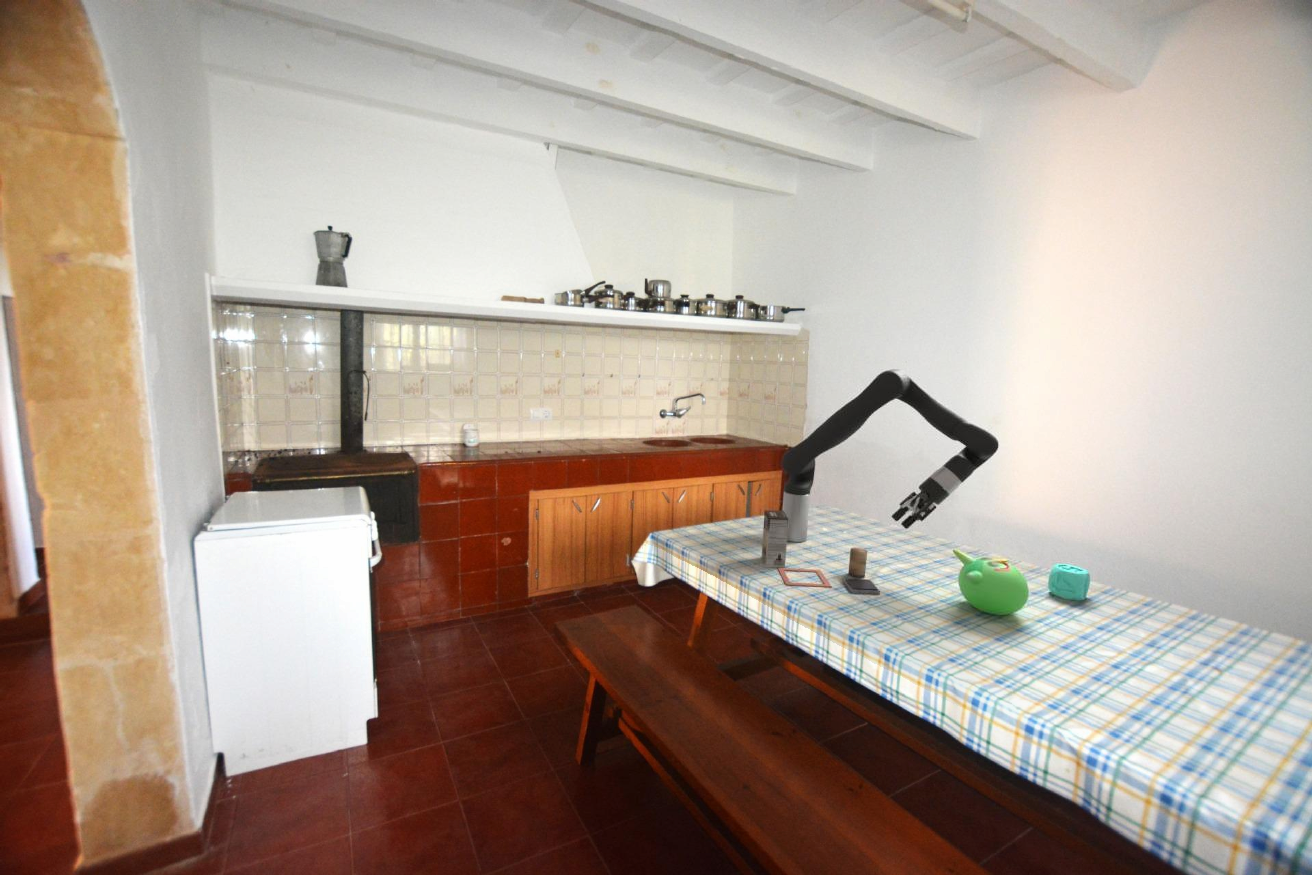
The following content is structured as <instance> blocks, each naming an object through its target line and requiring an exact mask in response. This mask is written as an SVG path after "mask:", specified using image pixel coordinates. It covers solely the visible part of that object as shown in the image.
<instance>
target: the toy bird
mask: <svg viewBox="0 0 1312 875" xmlns="http://www.w3.org/2000/svg"><path fill="white" fill-rule="evenodd" d="M952 552H953V554H954V555H955V557H956V558H957V559H958V560H959V561H960V562H961V564H963V565H962V567H961V568H960V570H959V574H958V578H957V580H958V587H959V590H960V593H961V594H962V596H963V597H964V599H965V600H966V601H967V603H969V604H970V605H971V606H972V607H974V608H976V609H977V610H979V611H981V612H984V613H988V614H990V615H999V616H1002V615H1004V616H1006V615H1010V614H1011V615H1012V614H1014V613H1017V612H1019V611H1020V610H1021V609H1023V607H1025V605H1026V604H1027V602H1028V601H1029V600H1028V599H1029V593H1030V592H1029V585H1028V581H1027V580H1026V578H1025V576H1024V575H1023V573H1022V572H1021V571H1020V570H1019V569H1018V568H1017V567H1016V566H1014V565H1013V564H1011V563H1010V561H1011V559H1008V558H995V557H994V558H993V557H977V558H974V557H972V556H970V555H968V554H967V553H964V552H962V551H960V550H958V549H953V550H952Z"/></svg>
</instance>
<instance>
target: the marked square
mask: <svg viewBox="0 0 1312 875" xmlns="http://www.w3.org/2000/svg"><path fill="white" fill-rule="evenodd" d="M777 570H778V572H779V574H780V576H781V578H782V580H783V582H784V584H785V585H786V586H793V587H812V588H813V587H814V588H832V585H831V584H830V582H829V580H828V579H827V577H826V576H825V575H824V573H823V572H822V571H821V569H815V568H814V569H812V568H810V569H808V568H790V567H789V568H788V567H787V568H786V567H785V568H781V567H777ZM786 572H800V573H801V572H803V573H816V574H817V575H818V577H819V579H820V580H821V581H822V583H811V582H810V583H806V582H804V583H803V582H791V581H790V579H789V577H788V575H787V574H786Z"/></svg>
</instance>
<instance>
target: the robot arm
mask: <svg viewBox="0 0 1312 875" xmlns="http://www.w3.org/2000/svg"><path fill="white" fill-rule="evenodd" d="M894 400H899V401H901V402H903V403H905V404H907V405H908V406H909V407H911V408H913V409H914V410H915V411H916V412H917V413H918V414H919V415H920V416H921V417H922V418H923V419H924V420H925V421H926V422H927V423H928V424H929V425H931V427H933V428H935V429H936V430H937V431H939V432H940V433H942V435H944V436H946V437H947V438H949V439H950V440H952V441H955V442H956V441H957V442H959V443H960V444H962V445H963V446H964V447H963V448H962V449H961V450H960V451H959V452H958V453H957V454H955V455H954V456H952V457H951V458H949V460H948V461H947V462H945V463H944V464H943V465H942V466H941V467H939V468H938V469H936V470H935V471H934V472H933V473H932V474H931V475H930V476H928V477H927V478H926V479H925V480H924V481H923V482H921V484H920V485H919V486H918V489H919V491H920V492H919V493H917V492H915V491H912V492H911V493H910V494H909V495H908V496H907V497H905V499H903V500H902V501H901V502H900V503H899V509H897V510H896V511H895V512H894V513H893V514H892V515H891V518H892V519H893V520H894V521H895V522H898V521H900V519H902V518H903V517H904V516H906V514H907V513H909V512H911V514H909V516H906V518H905V519H904V520H903V521H901V524H900V525H901V526H902V527H903V528H904V529H906V530H907V529H909V528H910V527H912V525H913V524H914V523H916V522H919V521H920V522H923V521H924V520H925V519H926V518H927V517H928V516H929V515H931V514H932V512H934V511H935V510H936V509H937V506H939V505H941V504H942V503H943V502H944V501H945V500H947V498H948V497H949V496H951V495H952V494H953V493H954V492H955V491H956V490H957V489H958V488H959V487H960V485H962V484H963V483H964V482H965V481H966V480H967V479H968V478H969V477H970V476H971V475H972V474H973V473H974V472H975V471H976V470H977V469H978V468H980V467H981V466H982V465H983V464H986V462H987V461H988V460H990V458H992V457H993V456H994V454H996V453H997V451H998V450H999V441H998V439H997V437H996V436H995V435H994V434H992V433H991V432H989V431H987V430H986V429H985V428H983V427H980V426H978V425H976V424H974V423H972V422H970V421H968V420H967V419H965V418H964V417H963V416H962V415H960V414H958V413H957V412H955V411H953V409H951V408H950V407H947V406H946V405H945V404H943V403H942V402H940V401H939V400H937V399H936V398H934V397H933V396H931V394H929V393H928V392H927V391H925V389H923V388H921V387H920V386H919V385H918V384H917V382H915V381H914V380H913V379H912V378H911V377H910V376H909V375H908V374H907V373H906V372H904V371H903V370H900V369H894V368H893V369H889V370H884V371H883V372H881V373H879V374H878V375H877V376H875V378H874V379H873V380H872V381H871V382H870V384H868V385H867V386H866V387H865V388H864V389H863V391H861V393H859V395H857V396H856V397H855V398H852V400H850V401H849V402H847V403H846V404H844V405H843V406H842V407H841V408H839V409H837V411H835V412H834V413H833V414H832V415H830V416H829V417H828V418H827V419H826V420H824V422H822V424H821V425H819V426H818V427H817V428H816V429H815V430H813V432H812V433H811V434H810V435H809V436H807V437H806V438H804V440H802V441H801V442H799V443H798V444H796V445H795V446H793V447H792V448H790V449H789V450H788V451H786V452H785V453H784V454H783V457H782V459H781V467H782V470H783V471H784V472H785V473H787V474H788V475H789V477H788V479H787V481H785V484H784V486H783V487H784V488H783V496H782V498H783V500H782V501H783V502H782V511H784V512H785V514H786V515H787V517H788V518H789V522H788V535H787V542H792V543H802V542H803V543H804V542H806V541H807V536H808V529H809V528H808V527H809V526H808V525H809V515H810V514H809V513H810V501H811V490H812V487H813V486H814V479H815V471H816V459H817V457H819V456H820V455H822V454H824V453H825V452H827V451H829V450H831V449H833V448H835V447H837V446H839V445H840V444H842V443H843V442H845V441H846V440H848V439H849V438H850V437H851V436H853V435H854V434H855V433H856V432H858V431H859V430H860V429H861V427H862V426H864V424H865V423H866V422H867V421H868V419H869V418H870V417H871V416H872V415H873V414H874V413H875V412H877V411H878V410H880V409H881V408H882V407H884V406H885V405H887V404H888V403H890V402H892V401H894ZM936 505H937V506H936Z"/></svg>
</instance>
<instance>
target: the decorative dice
mask: <svg viewBox="0 0 1312 875" xmlns="http://www.w3.org/2000/svg"><path fill="white" fill-rule="evenodd" d="M1090 582H1091V575H1090V573H1089V572H1088V570H1086V569H1085V568H1082V567H1079V566H1076V565H1072V564H1067V563H1066V564H1065V563H1057V564H1055V565H1053V566H1052V568H1051V570H1050V573H1049V576H1048V583H1047V587H1048V590H1049V591H1050V593H1051V594H1052V595H1054V596H1056V597H1058V598H1061V599H1064V600H1069V601H1076V602H1077V601H1078V602H1079V601H1083V600H1085V599H1086V598H1087V595H1088V593H1089V589H1090Z"/></svg>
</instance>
